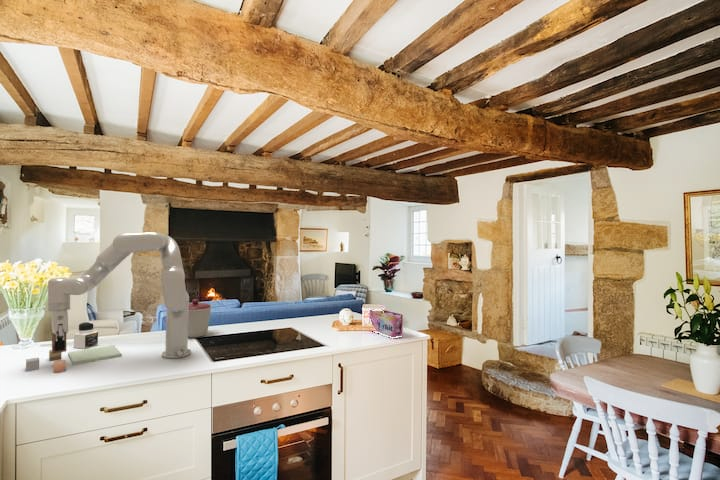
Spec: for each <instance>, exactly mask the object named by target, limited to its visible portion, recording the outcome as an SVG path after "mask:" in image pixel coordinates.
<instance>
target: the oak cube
mask: <svg viewBox="0 0 720 480" xmlns="http://www.w3.org/2000/svg"><path fill="white" fill-rule="evenodd" d="M48 351H49V353H48V360H49V362H55V361H58V360H62V353H63V352H59V353H52V349H50V350H48Z"/></svg>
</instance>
